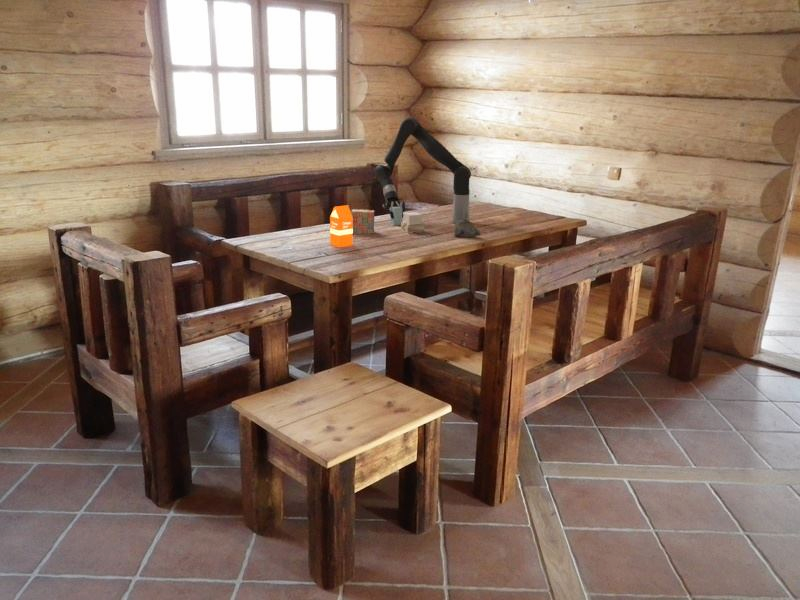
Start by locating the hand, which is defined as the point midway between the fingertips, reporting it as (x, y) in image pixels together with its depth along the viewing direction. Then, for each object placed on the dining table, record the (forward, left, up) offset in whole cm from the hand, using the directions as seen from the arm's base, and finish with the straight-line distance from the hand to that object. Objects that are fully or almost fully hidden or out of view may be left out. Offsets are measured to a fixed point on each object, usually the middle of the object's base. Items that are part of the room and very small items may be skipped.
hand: (397, 217), depth 398 cm
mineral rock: (-45, +16, -4) cm, 48 cm away
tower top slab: (-13, +12, 0) cm, 17 cm away
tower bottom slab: (-13, +12, -5) cm, 18 cm away
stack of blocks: (+16, +28, -5) cm, 33 cm away
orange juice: (+11, +59, -4) cm, 60 cm away
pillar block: (+1, -1, -4) cm, 5 cm away
